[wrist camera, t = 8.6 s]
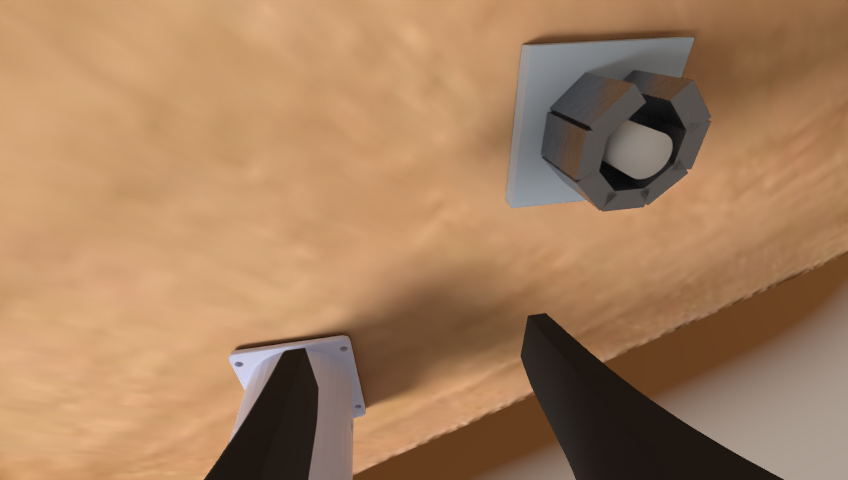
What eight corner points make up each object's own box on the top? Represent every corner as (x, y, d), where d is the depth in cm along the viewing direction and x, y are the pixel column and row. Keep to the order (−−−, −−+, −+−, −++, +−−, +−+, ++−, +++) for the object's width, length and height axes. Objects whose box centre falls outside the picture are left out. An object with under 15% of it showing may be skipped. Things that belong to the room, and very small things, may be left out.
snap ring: (629, 176, 19) (676, 203, 16) (535, 185, 19) (567, 215, 16) (663, 68, 16) (728, 77, 13) (553, 74, 16) (596, 86, 13)
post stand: (630, 187, 21) (697, 228, 17) (505, 200, 20) (543, 247, 16) (678, 36, 17) (783, 41, 13) (522, 44, 16) (579, 52, 12)
